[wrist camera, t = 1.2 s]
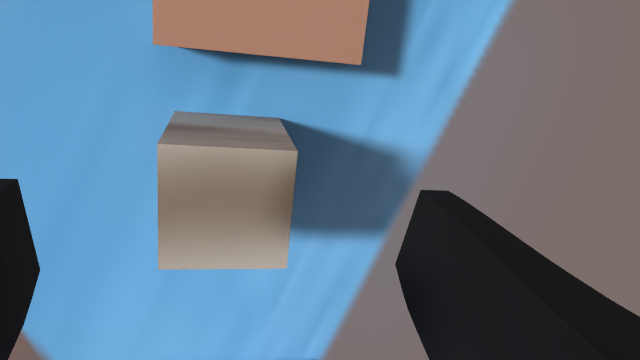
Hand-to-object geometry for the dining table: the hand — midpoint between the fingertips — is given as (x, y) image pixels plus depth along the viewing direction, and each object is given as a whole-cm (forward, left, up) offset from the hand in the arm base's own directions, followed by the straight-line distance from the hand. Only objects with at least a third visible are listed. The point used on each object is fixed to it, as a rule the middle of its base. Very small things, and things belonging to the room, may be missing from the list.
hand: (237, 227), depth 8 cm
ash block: (-2, 0, -10) cm, 10 cm away
